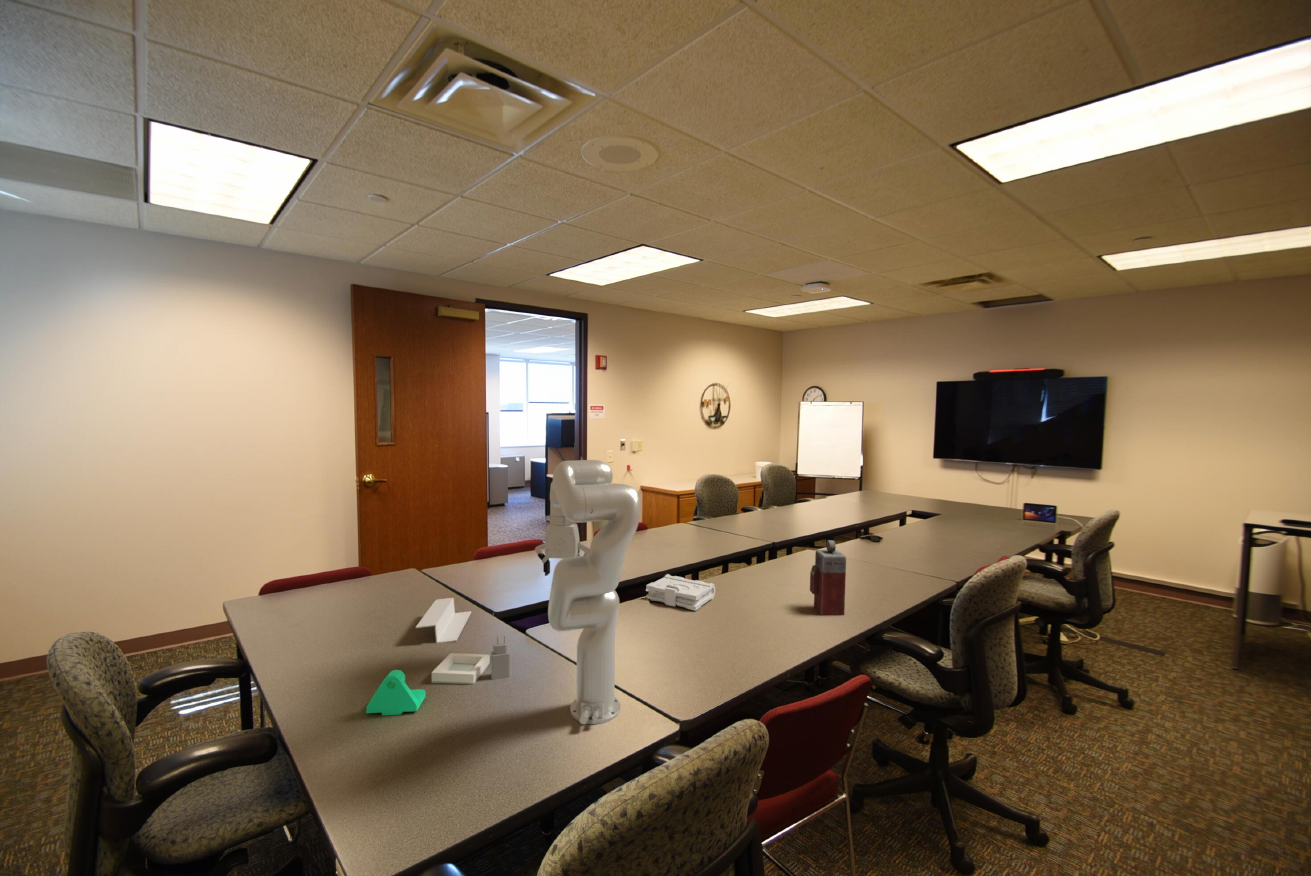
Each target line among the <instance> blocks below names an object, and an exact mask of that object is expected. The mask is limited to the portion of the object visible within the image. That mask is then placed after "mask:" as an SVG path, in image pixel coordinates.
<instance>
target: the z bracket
mask: <svg viewBox="0 0 1311 876" xmlns="http://www.w3.org/2000/svg"><path fill="white" fill-rule="evenodd" d="M471 614H472V611H471V610H470V611H462V612H456V611H455V598H454V597H448V598H439V599H438V598H437V599H435V601H433V603H432V605H430V607H429V608H428V610H427V611H426V612H425V614H424V615H423V616H422V617H421V619H420V620H419V621H418V624H417V625H416V626H415V629H420V628H421V629H422V628H428V627H434V632H435V633H434V634H435V642H436V644H441V643H443V644H444V643H451V642H457V641H458V639H459V636H460V635H461V633H462V631H463V629H464V627H465V625H466V623H467V621H468V620H469V618H470V616H471Z"/></svg>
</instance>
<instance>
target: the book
mask: <svg viewBox="0 0 1311 876" xmlns="http://www.w3.org/2000/svg"><path fill="white" fill-rule="evenodd" d="M645 587H646V589H645V591H646V592H648V593H647V594H646V596H645V599H646V598H648V599H650V600H649V601H654V602H661V603H664V605H666V606H669V607H677V606H678V607H682V608H685V609H688V610H691V611H698V610H699V609H700V608H702V606H703V605H704V604H706V603H707V602H709V601H712V600H713V599H714V598H715V594H716V584H715V583H712V582H710V583H708V582H705V581H703V580H697V579H695V580H693V579H690V578H689V579H687V578H684V577H682V576H677V575H674V576H673V575H671V574H669V573H667V574H665V575H664V576H663V577H662V578H660V579H658V580H656V581H654V582H653V581H652V582H650V583H648V584H646V586H645ZM648 599H647V600H648ZM711 599H712V600H711ZM676 605H677V606H676Z"/></svg>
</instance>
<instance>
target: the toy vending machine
mask: <svg viewBox="0 0 1311 876" xmlns="http://www.w3.org/2000/svg"><path fill="white" fill-rule="evenodd" d="M825 547H826V549H817V550H815V556H814V557H815V558H814V559H815V561H814V565H812V566H811V568H810V569H811V570H810V574H809V591H810V592H811V594H812V595H814V596H813V608H814V609H815V611H816V612H817V613H818V614H819V615H820V616H823V617H825V616H827V617H828V616H829V617H830V616H845V606H846V605H845V604H846V602H845V601H846V581H847V579H846V575H847V574H846V572H847V556H846V555H845V554H843V553H842V552H841V551H839V550H838V549H837V546H836V541H835V540H830V539H827V541H826V544H825Z"/></svg>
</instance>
